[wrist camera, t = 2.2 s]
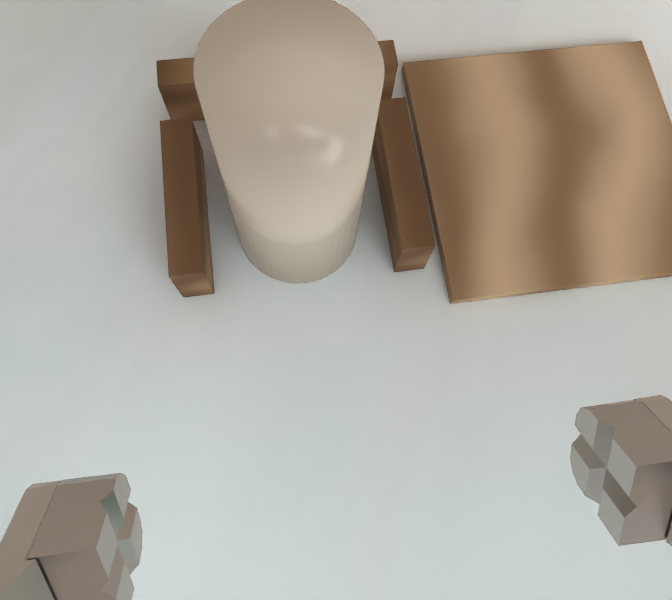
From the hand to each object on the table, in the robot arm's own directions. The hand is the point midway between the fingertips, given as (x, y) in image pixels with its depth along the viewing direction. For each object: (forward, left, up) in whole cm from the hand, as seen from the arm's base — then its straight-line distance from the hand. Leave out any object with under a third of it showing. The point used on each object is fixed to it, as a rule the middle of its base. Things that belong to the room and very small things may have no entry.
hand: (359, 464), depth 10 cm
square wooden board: (+14, +14, -16) cm, 26 cm away
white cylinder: (0, +13, -16) cm, 21 cm away
